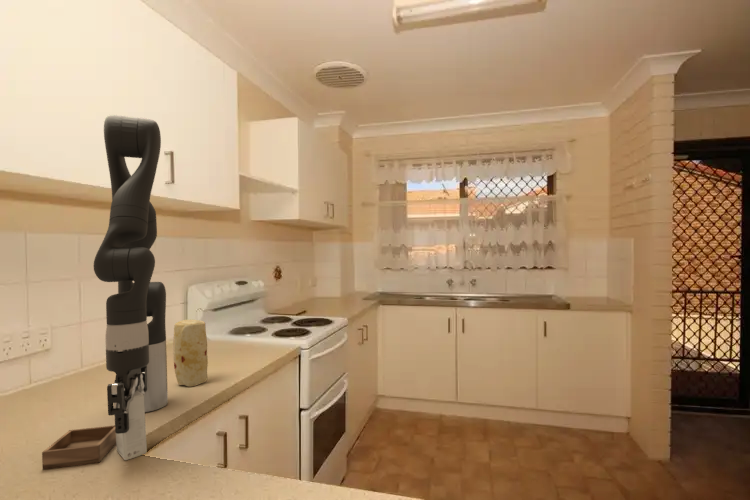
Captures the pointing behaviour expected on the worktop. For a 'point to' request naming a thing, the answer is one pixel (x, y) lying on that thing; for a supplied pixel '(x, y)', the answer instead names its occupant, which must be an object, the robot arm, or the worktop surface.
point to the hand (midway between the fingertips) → (129, 424)
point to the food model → (190, 352)
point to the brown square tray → (79, 447)
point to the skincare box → (133, 430)
